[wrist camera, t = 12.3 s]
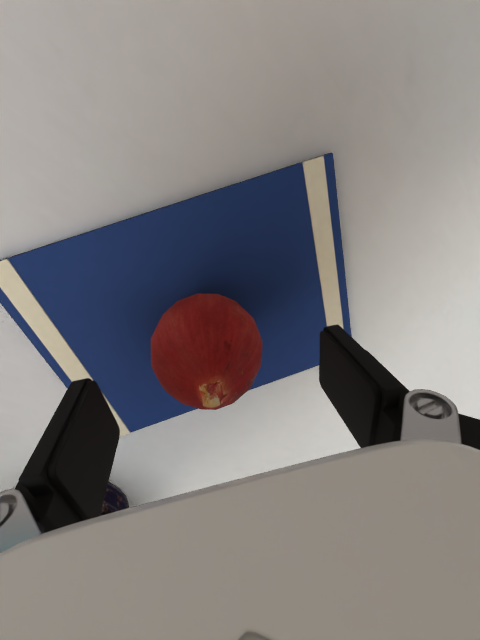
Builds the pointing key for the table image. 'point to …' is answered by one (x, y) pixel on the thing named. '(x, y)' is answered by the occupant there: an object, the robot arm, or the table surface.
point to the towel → (187, 284)
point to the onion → (206, 351)
